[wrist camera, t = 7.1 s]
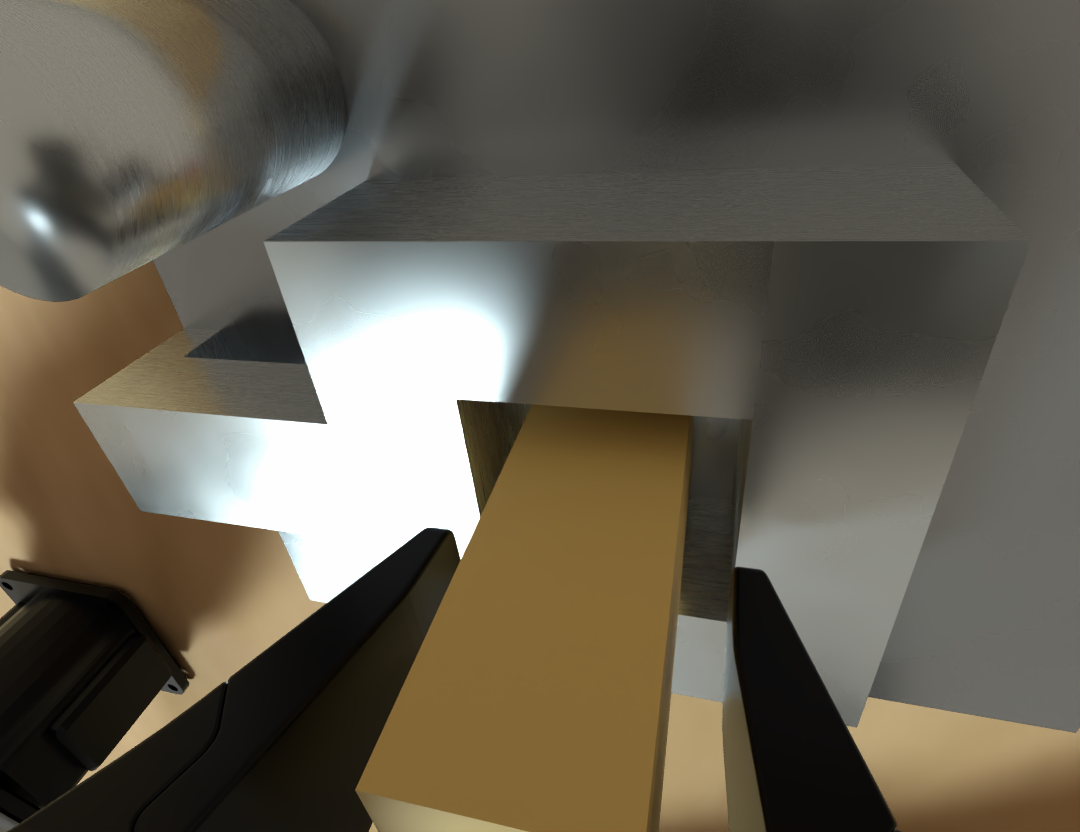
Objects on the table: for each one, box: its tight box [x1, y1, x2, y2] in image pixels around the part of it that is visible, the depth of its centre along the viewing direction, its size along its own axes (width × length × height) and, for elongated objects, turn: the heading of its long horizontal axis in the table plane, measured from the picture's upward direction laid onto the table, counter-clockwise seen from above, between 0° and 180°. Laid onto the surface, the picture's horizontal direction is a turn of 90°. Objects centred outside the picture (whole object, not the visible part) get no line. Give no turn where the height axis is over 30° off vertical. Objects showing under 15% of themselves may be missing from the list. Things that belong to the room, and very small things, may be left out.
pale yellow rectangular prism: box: [355, 404, 694, 832], centre depth 9 cm, size 3×3×8 cm
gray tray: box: [0, 0, 1080, 733], centre depth 11 cm, size 20×16×6 cm
